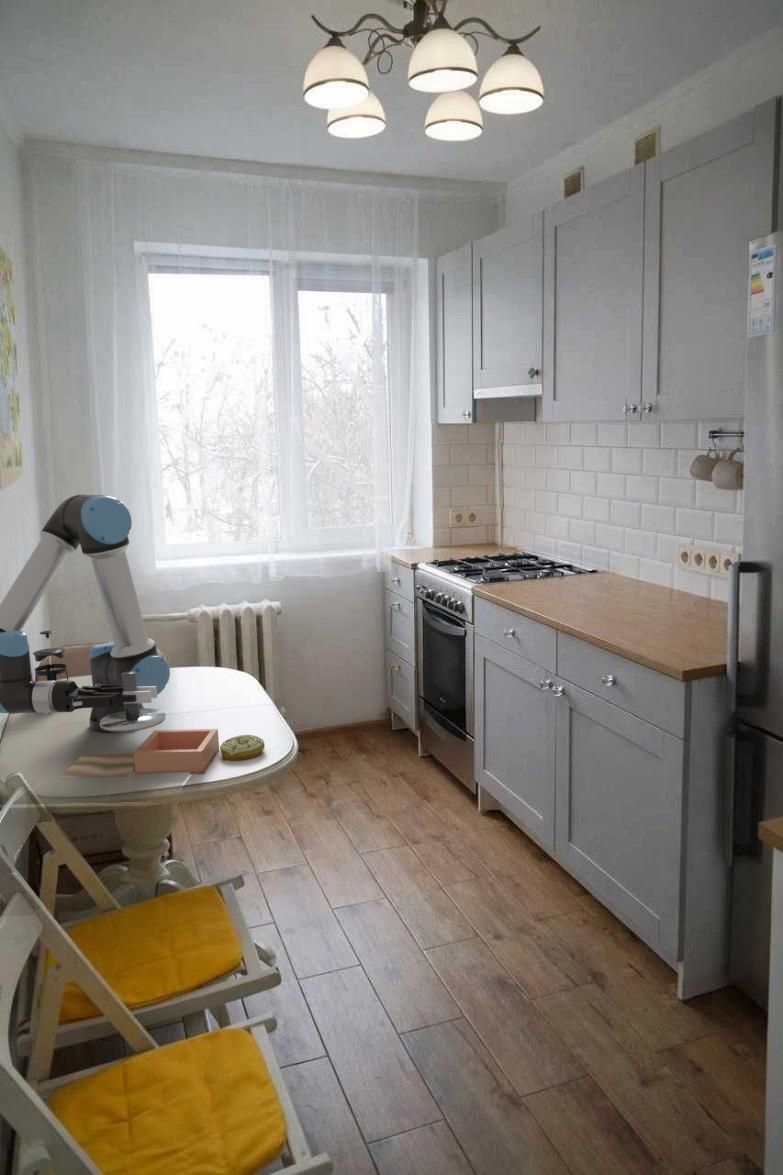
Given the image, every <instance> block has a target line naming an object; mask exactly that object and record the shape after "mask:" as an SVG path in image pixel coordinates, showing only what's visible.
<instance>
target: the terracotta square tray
mask: <svg viewBox="0 0 783 1175" xmlns="http://www.w3.org/2000/svg"><path fill="white" fill-rule="evenodd" d="M219 739H220V738H219V729H218V728H206V729H205V728H203V729H202V728H201V729H197V728H196V729H193V728H192V729H166V730H165V729H164V730H162V729H160V730H156V729H155V730H153V731H152V732H151V734H150V735H149V736H148V737H147V738H146V739H144V741H143V742H142V743H141V744H140V745H139V747H138V748H137V749H136V750H135V751H133V752H134V760H135V767H134V769H135V774H152V773H153V774H154V773H156V774H157V773H166V774H167V773H189V775H204V774H205V772H207V770H208V768H209V766H210V765H211V763H212V762H213V760H214V759H215V757H216V756H217V754H218V753H219V751H220V741H219Z"/></svg>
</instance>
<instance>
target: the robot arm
mask: <svg viewBox="0 0 783 1175" xmlns="http://www.w3.org/2000/svg"><path fill="white" fill-rule="evenodd" d="M131 529H132V516H131V512H130V510H129V509H128V507H127V506H126V505H125V503H123V501H121V500H119V499H118V498H116V497H112V496H110V495H105V494H89V495H88V494H75V495H72V496H70V497H69V498H66V499H65V500H64V501H63V502H62V503H60V504H59V505H58V506H57V508H56V509H55V510H54V511H53V513H52V514H51V516H50V517H49V519H48V520H47V521H46V522H45V524H44V526H43V527H42V529H41V531H40V533H39V534H40V538H41V539H40V540H39V542H38V543H37V545H36V547H35V548H34V550H33V551H32V553H31V555H30V556H29V558H28V560H27V561H26V563H25V564H24V566H23V567H22V569H21V571H20V572H19V574H18V575H17V576H16V579H15V581H14V582H13V583H12V585H11V586H10V587H9V588H10V589H9V590H8V591H7V592H6V594H5V596H4V598H3V599H2V601H1V602H0V714H10V715H11V714H12V715H15V714H34V713H36V714H38V713H40V714H41V713H44V714H45V715H49V714H50V713H56V712H57V713H72V712H74V711H75V710H80V709H91V712H90V716H89V719H88V720H89V729H90V730H92V731H95V732H98V731H99V732H100V733H113V732H112V731H107V730H104V729H102V728H101V727H100V720H101V719H102V718H104V717H106V716H108V715H110V714H113V713H116V712H120V711H124V710H125V705H124V703H139V709H142V708H145V707H144V705H143V704H152V702H153V699H157V698H158V695H160V694H161V693H162V691H163V690H165V688H166V687H167V684H168V683H169V681H170V676H171V669H170V665H169V663H168V661H167V660H166V659H165V658H164V657H162V656H161V655H159V652H158V649H157V645H156V642H155V640H154V639H152V638H150V637H149V636H148V634H147V631H146V630H147V629H146V626H145V623H144V620H143V614H142V611H141V608H140V604H139V603H140V602H139V599H138V596H137V592H136V591H137V590H136V588H135V584H134V580H133V577H132V573H131V572H132V571H131V569H130V566H129V560H128V557H127V552H126V550H127V548H128V546H130V540H129V534H130V530H131ZM79 546H80V548H81V551H82V552H81V553H82V554H83V555H84V556H85V557H87V558H89V559H90V560H91V565H92V569H93V572H94V575H95V576H94V577H95V580H96V583H97V586H98V590H99V594H100V597H101V602H102V604H103V608H104V612H105V616H106V620H107V624H108V628H109V631H110V635H111V638H112V641H109V642H105V643H99V644H96V645H93V646H92V647H91V648H90V649H89V663H90V664H89V665H90V673H91V681H92V682H91V684H92V685H83V686H82V687H79V686H78V685H77V683H76V681H74V680H71V679H68V680H67V679H65V680H64V679H63V680H57V681H47V680H37V681H36V680H33V672H32V665H31V655H30V644H29V638H28V635H27V633H26V632H25V631H23V630H22V629H23V628H24V626H25V625H26V623H27V621H28V620H29V618H30V616H32V614H33V612H34V610H35V608H36V607H37V605H38V604H39V602H40V601H41V598H42V597H43V595H44V594H45V593H46V591H47V590H48V587H50V584H51V582H52V581H53V580H54V578H55V576H56V575H57V573H58V571H59V569H60V568H61V566H62V565H63V563H64V562H65V561H66V559H67V557H68V555H70V554H73V553H75V552H76V551H77V548H79ZM129 671H133V672H136V682H137V691H124V692H123V685H122V673H124V672H129Z"/></svg>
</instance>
